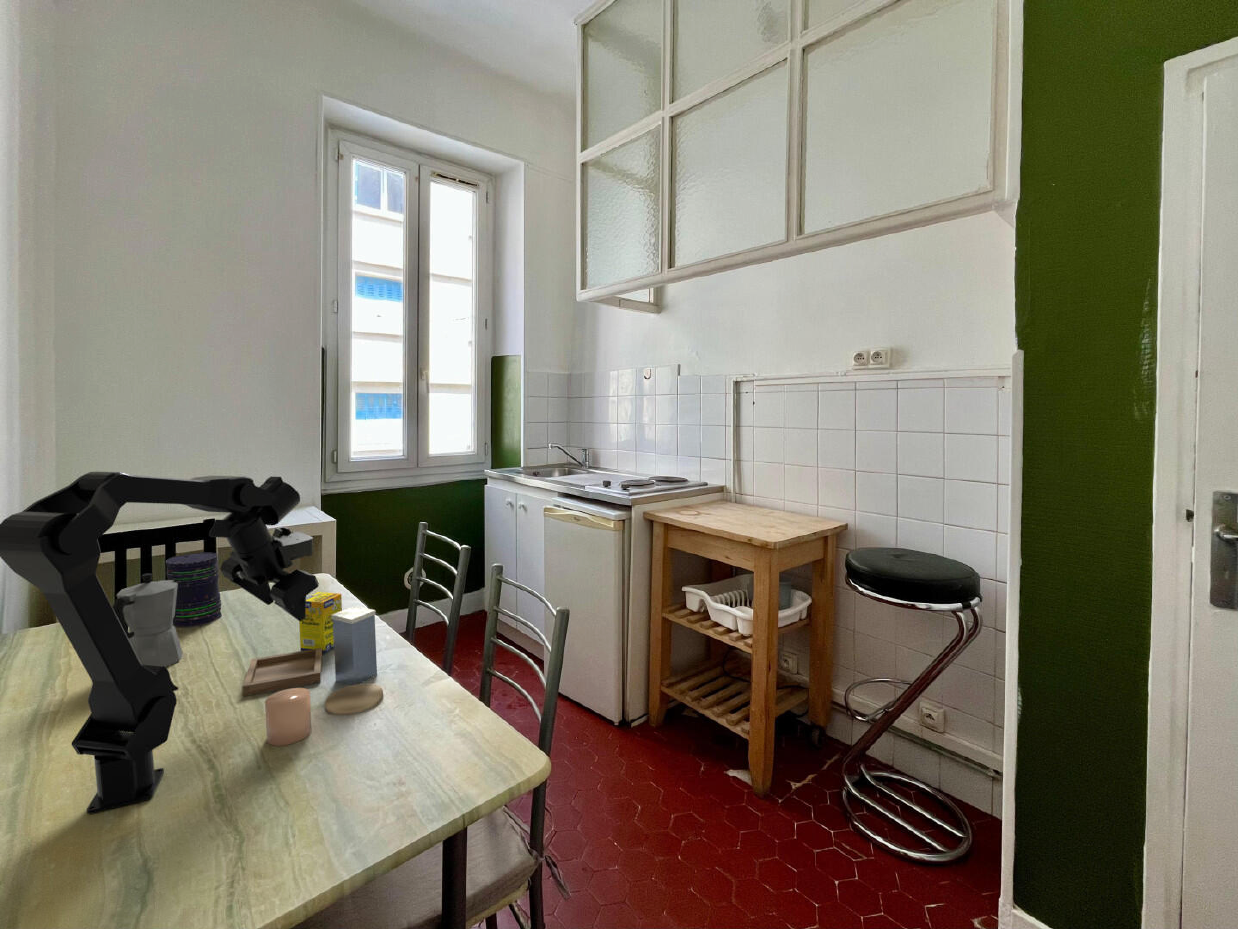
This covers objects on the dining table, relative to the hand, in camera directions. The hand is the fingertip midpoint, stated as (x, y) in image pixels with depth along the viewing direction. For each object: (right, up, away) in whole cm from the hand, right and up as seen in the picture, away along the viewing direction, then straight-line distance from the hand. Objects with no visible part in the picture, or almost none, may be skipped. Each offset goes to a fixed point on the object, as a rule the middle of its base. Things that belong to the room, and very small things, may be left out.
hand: (286, 611), depth 103 cm
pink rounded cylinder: (+9, -15, -14) cm, 23 cm away
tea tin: (+11, -13, +4) cm, 18 cm away
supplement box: (-3, -12, +18) cm, 22 cm away
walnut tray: (-3, -13, +5) cm, 15 cm away
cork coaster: (+14, -14, -4) cm, 21 cm away
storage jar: (-40, -11, +33) cm, 53 cm away
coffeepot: (-32, -13, +9) cm, 36 cm away
